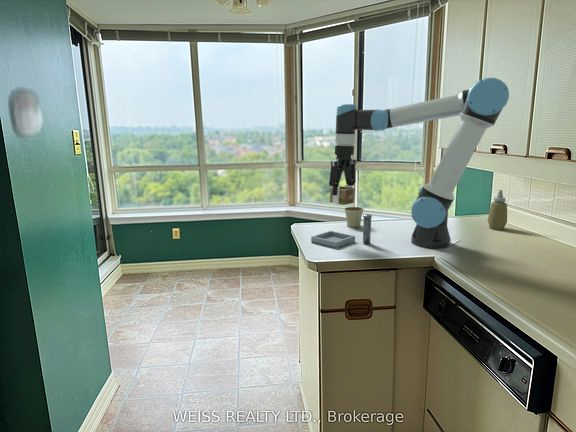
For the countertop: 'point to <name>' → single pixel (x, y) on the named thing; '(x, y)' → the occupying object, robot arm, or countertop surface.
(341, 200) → the brown wooden box
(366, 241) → the post
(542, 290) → the countertop surface
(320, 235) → the tray
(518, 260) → the countertop surface
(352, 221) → the flower pot
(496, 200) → the squeeze bottle
